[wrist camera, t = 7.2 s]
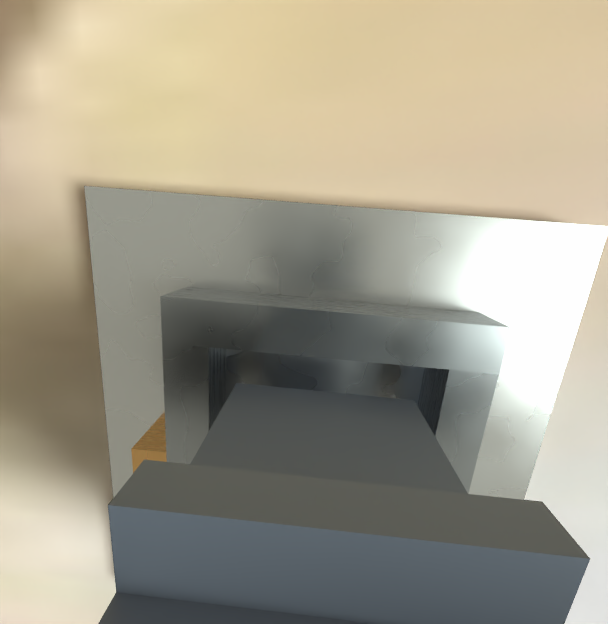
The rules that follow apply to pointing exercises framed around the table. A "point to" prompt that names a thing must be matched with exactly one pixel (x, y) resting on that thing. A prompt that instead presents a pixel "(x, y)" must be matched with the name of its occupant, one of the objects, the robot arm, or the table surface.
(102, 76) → the table surface
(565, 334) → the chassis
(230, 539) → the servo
